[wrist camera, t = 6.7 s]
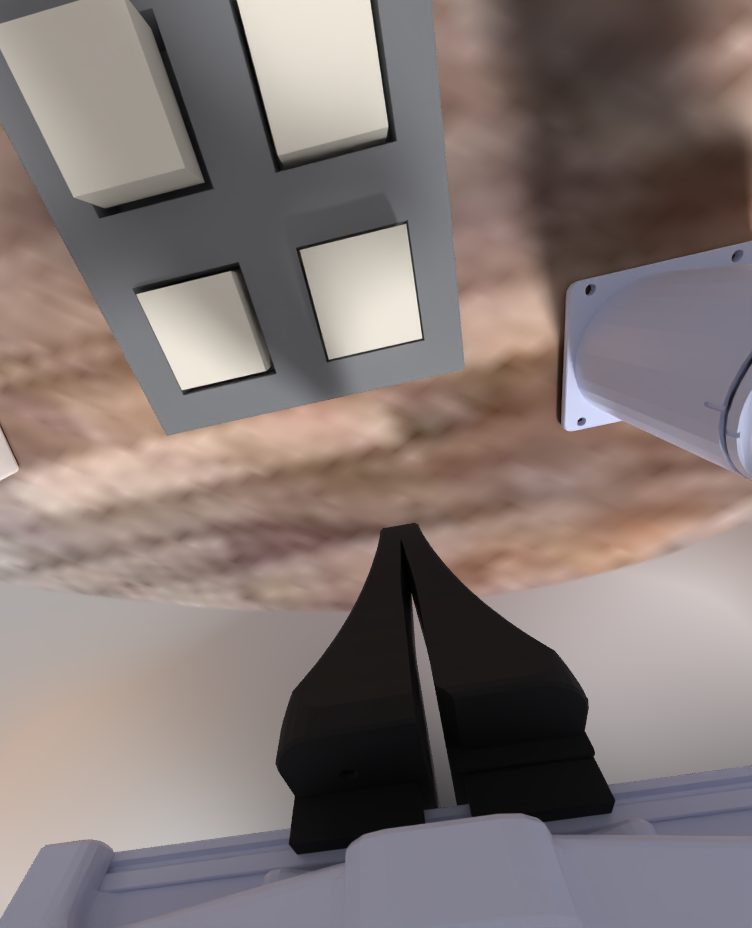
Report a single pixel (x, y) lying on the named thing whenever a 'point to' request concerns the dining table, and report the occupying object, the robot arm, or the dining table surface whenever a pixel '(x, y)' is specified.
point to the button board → (262, 214)
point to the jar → (6, 459)
